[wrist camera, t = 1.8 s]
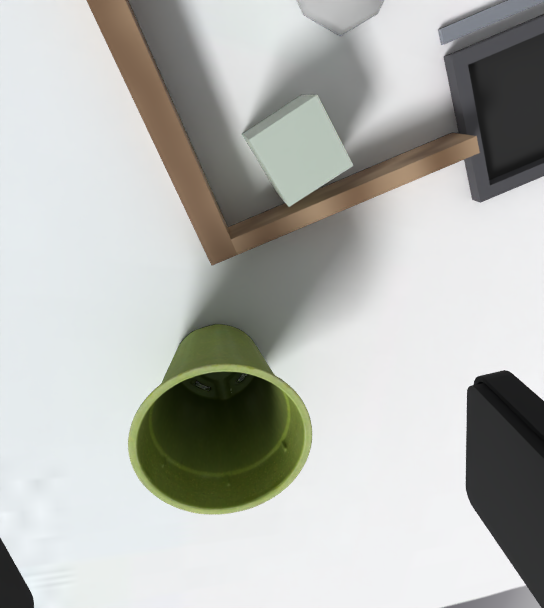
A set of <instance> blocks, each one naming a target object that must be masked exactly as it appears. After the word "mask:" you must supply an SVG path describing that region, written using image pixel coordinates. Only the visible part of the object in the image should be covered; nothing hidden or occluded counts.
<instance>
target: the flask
mask: <svg viewBox="0 0 544 608" xmlns="http://www.w3.org/2000/svg"><path fill="white" fill-rule="evenodd" d="M383 1H384V0H297V2H298V4H299V7H300V9H301V11H302V13H303V15H304V16H306V17H308V18H309V19H311V20H313V21H315V22H316V23H318V24H320V25H322V26H323V27H325V28H327V29H329V30H330V31H332V32H334V33H336V34H337V35H339V36H341V35H343V34H345V33H346V32H348V31H350V30H351V29H353V28H355V27H356V26H358V25H360V24H361V23H363V22H365V21H366V20H368V19H370V18H372V17H373V16H375V15H377V14H378V12H379V10H380V8H381V6H382V3H383Z"/></svg>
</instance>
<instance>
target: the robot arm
mask: <svg viewBox="0 0 544 608" xmlns="http://www.w3.org/2000/svg"><path fill="white" fill-rule="evenodd" d="M466 491H467V495H468V498H469V501H470V503H471V505H472V506H473V508H474V509H475V511H476V512H477V514H478V515H479V517H480V518H481V520H482V521H483V523H484V524H485V525H486V527H487V528H488V530H489V531H490V533H491V534H492V536H493V537H494V539H495V540H496V542H497V543H498V545H499V546H500V547H501V549H502V550H503V552H504V553H505V555H506V556H507V558H508V559H509V561H510V562H511V564H512V565H513V566H514V568H515V569H516V571H517V572H518V574H519V575H520V577H521V578H522V580H523V581H524V583H525V584H526V586H527V587H528V588H529V590H530V591H531V593H532V594H533V596H534V597H535V598H536V600H537V602H538V603H539V604H540V606H541V607H542V608H544V401H543V400H542V399H541V398H540V397H538V396H537V395H536V394H535V393H534V392H533V391H532V390H530V389H529V388H528V387H527V386H526V385H525V384H524V383H522V382H521V381H520V380H519V379H518V378H517V377H515V376H514V375H513V374H512V373H510V372H509V371H505V370H504V371H500V372H495V373H491V374H486V375H482V376H478V377H476V379H475V381H474V385H472V386H470V387H469V388H468V390H467V436H466ZM0 608H34V601H33V596H32V594H31V592H30V590H29V588H28V586H27V584H26V583H25V581H24V579H23V577H22V576H21V574H20V572H19V570H18V568H17V567H16V565H15V563H14V561H13V560H12V558H11V556H10V554H9V552H8V551H7V549H6V547H5V545H4V543H3V542H2V540H1V538H0Z"/></svg>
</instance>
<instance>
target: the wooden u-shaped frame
mask: <svg viewBox="0 0 544 608" xmlns="http://www.w3.org/2000/svg"><path fill="white" fill-rule="evenodd" d="M87 2H88V5H89V7H90V9H91V11H92V13H93V15H94V17H95V19H96V22H97V24H98V26H99V28H100V30H101V32H102V34H103V36H104V38H105V41H106V43H107V45H108V47H109V49H110V51H111V53H112V55H113V58H114V60H115V62H116V64H117V66H118V68H119V70H120V72H121V75H122V77H123V79H124V81H125V83H126V85H127V87H128V89H129V91H130V94H131V96H132V98H133V100H134V102H135V104H136V106H137V108H138V111H139V113H140V115H141V117H142V119H143V121H144V123H145V125H146V128H147V130H148V132H149V134H150V136H151V138H152V140H153V142H154V144H155V147H156V149H157V151H158V153H159V155H160V157H161V159H162V161H163V164H164V166H165V168H166V170H167V172H168V174H169V176H170V178H171V180H172V183H173V185H174V187H175V189H176V191H177V193H178V195H179V197H180V200H181V202H182V204H183V206H184V208H185V210H186V212H187V214H188V217H189V219H190V221H191V223H192V225H193V227H194V229H195V231H196V233H197V236H198V238H199V240H200V242H201V244H202V246H203V248H204V250H205V253H206V255H207V257H208V259H209V261H210V263H211V265H214V264H217V263H219V262H221V261H224V260H226V259H229V258H231V257H233V256H236V255H238V254H240V253H243V252H245V251H248V250H250V249H252V248H255V247H257V246H259V245H262V244H264V243H267V242H269V241H271V240H274V239H276V238H278V237H281V236H283V235H286V234H288V233H290V232H293V231H295V230H297V229H300V228H302V227H305V226H307V225H309V224H312V223H314V222H316V221H319V220H321V219H324V218H326V217H328V216H331V215H333V214H335V213H338V212H340V211H343V210H345V209H347V208H350V207H352V206H354V205H357V204H359V203H362V202H364V201H366V200H369V199H371V198H374V197H376V196H378V195H381V194H383V193H385V192H388V191H390V190H393V189H395V188H397V187H400V186H402V185H404V184H407V183H409V182H412V181H414V180H416V179H419V178H421V177H423V176H426V175H428V174H431V173H433V172H435V171H438V170H440V169H442V168H445V167H447V166H450V165H452V164H454V163H457V162H459V161H461V160H464V159H466V158H469V157H471V156H473V155H476V154H478V153H480V151H479V146H478V141H477V136H473V135H466V134H459V133H450V134H448V135H445V136H443V137H441V138H438V139H436V140H434V141H431V142H429V143H426V144H424V145H422V146H419V147H417V148H415V149H412V150H410V151H408V152H405V153H403V154H400V155H398V156H396V157H393V158H391V159H389V160H386V161H384V162H381V163H379V164H377V165H374V166H372V167H370V168H367V169H365V170H363V171H360V172H358V173H355V174H353V175H351V176H348V177H346V178H344V179H341V180H339V181H336V182H334V183H332V184H329V185H327V186H325V187H322V188H320V189H318V190H315V191H313V192H312V193H310V194H309V195H307V196H305V197H304V198H302V199H301V200H299V201H298V202H296V203H294V204H293V205H291V206H290V207H288V205H287V204H286V203H284V204H282V205H280V206H277V207H275V208H273V209H270V210H268V211H265V212H263V213H261V214H258V215H256V216H254V217H251V218H249V219H246V220H244V221H242V222H239V223H237V224H235V225H232V226H230V227H227V224H226V222H225V220H224V217H223V215H222V213H221V211H220V208H219V206H218V204H217V202H216V199H215V197H214V195H213V192H212V190H211V188H210V186H209V183H208V181H207V179H206V176H205V174H204V172H203V170H202V167H201V165H200V163H199V161H198V158H197V156H196V154H195V151H194V149H193V147H192V145H191V142H190V140H189V138H188V136H187V133H186V131H185V129H184V126H183V124H182V122H181V120H180V117H179V115H178V113H177V110H176V108H175V106H174V104H173V101H172V99H171V97H170V95H169V92H168V90H167V88H166V85H165V83H164V81H163V79H162V76H161V74H160V72H159V69H158V67H157V65H156V63H155V60H154V58H153V56H152V54H151V51H150V49H149V47H148V44H147V42H146V40H145V38H144V35H143V33H142V31H141V29H140V26H139V24H138V22H137V19H136V17H135V15H134V13H133V10H132V8H131V6H130V3H129V1H128V0H87Z"/></svg>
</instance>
